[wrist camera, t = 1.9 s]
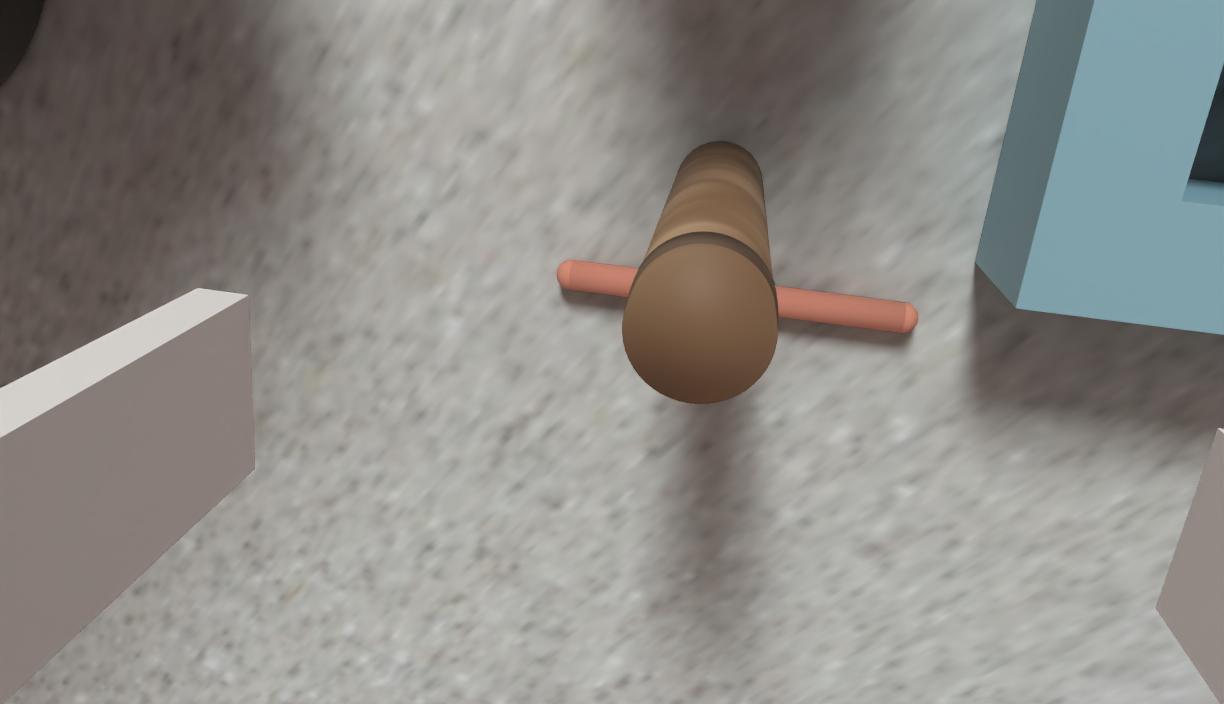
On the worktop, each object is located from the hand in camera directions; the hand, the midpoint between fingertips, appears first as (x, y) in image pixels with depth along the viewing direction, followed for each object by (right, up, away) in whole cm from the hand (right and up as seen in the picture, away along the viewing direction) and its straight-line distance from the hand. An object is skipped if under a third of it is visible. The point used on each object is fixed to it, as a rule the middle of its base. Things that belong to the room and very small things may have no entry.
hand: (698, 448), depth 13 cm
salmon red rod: (+3, +3, +19) cm, 20 cm away
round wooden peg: (+2, +7, +18) cm, 20 cm away
